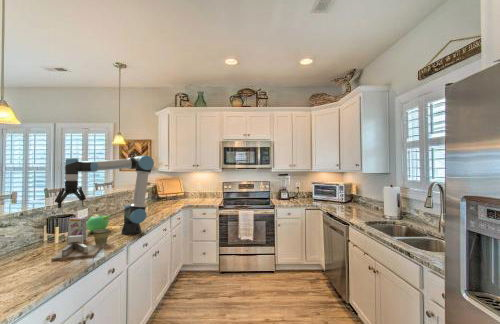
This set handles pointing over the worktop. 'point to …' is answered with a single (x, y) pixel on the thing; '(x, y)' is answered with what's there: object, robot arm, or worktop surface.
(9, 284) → the worktop surface
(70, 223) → the candy bar box
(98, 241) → the tan flower pot
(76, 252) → the board
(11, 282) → the worktop surface
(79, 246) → the tong jaw
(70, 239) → the lock collar
